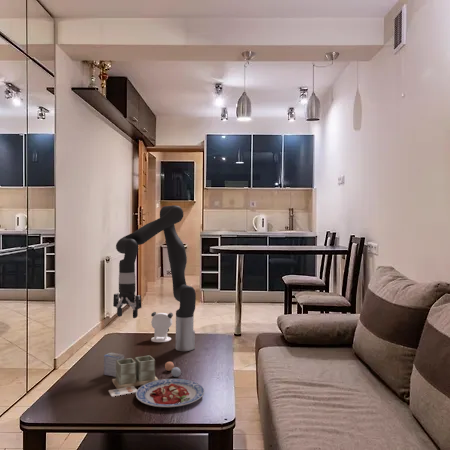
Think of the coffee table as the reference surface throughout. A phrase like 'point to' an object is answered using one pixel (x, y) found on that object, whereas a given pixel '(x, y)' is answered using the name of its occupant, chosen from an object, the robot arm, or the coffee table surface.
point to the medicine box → (111, 363)
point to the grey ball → (175, 372)
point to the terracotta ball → (169, 366)
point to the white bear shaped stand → (161, 326)
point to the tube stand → (134, 372)
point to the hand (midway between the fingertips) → (127, 317)
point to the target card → (122, 391)
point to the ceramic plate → (170, 392)
